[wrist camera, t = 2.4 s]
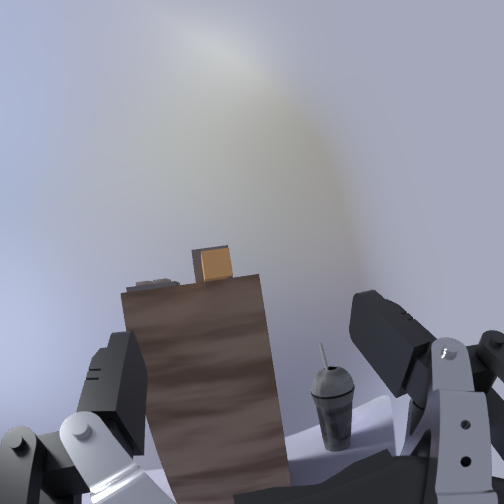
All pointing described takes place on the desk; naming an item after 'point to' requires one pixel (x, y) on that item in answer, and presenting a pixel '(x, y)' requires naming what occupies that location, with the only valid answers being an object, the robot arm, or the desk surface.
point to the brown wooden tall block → (209, 386)
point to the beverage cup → (334, 404)
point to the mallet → (212, 264)
